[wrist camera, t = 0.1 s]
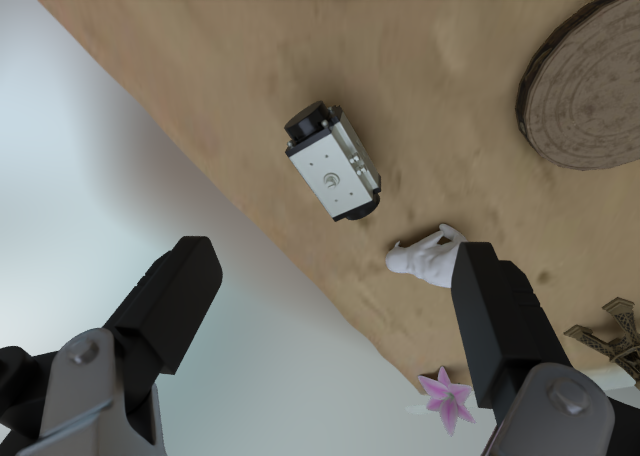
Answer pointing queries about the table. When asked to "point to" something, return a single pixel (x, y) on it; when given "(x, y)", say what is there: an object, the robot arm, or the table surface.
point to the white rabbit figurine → (428, 257)
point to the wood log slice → (586, 89)
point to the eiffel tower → (618, 348)
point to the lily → (447, 399)
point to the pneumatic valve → (333, 161)
